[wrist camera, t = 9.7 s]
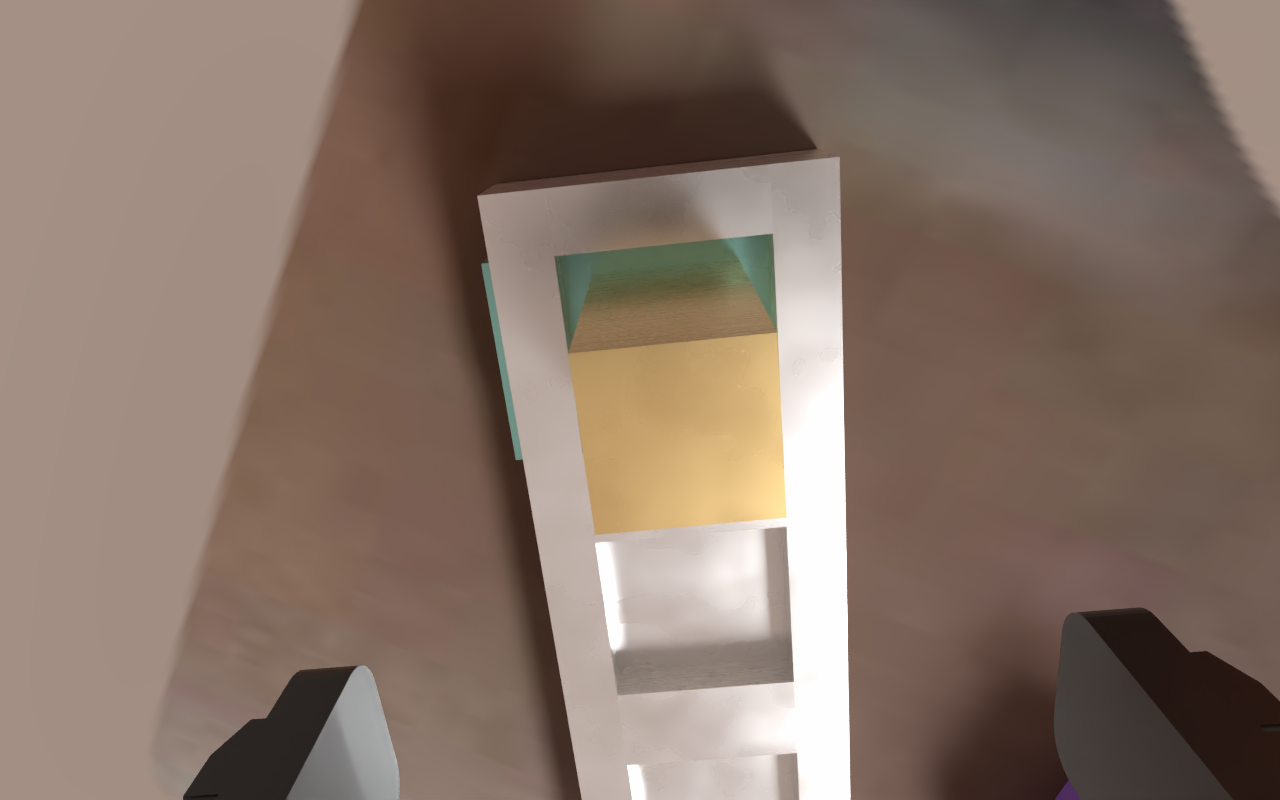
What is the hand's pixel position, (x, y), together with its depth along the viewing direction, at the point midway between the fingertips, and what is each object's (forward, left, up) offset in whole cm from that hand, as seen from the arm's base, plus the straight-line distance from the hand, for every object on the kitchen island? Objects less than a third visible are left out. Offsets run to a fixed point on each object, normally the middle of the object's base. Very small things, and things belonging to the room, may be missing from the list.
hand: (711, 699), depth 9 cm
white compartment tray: (0, +8, -16) cm, 18 cm away
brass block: (0, 0, -14) cm, 14 cm away
